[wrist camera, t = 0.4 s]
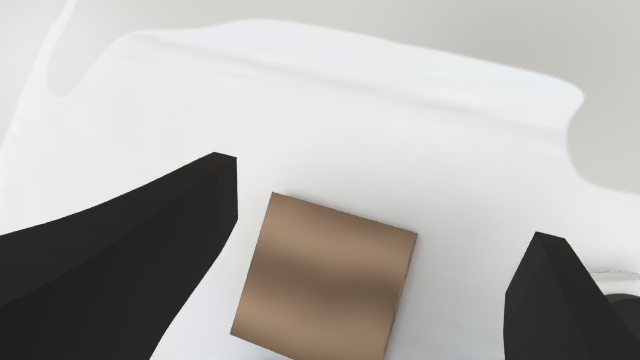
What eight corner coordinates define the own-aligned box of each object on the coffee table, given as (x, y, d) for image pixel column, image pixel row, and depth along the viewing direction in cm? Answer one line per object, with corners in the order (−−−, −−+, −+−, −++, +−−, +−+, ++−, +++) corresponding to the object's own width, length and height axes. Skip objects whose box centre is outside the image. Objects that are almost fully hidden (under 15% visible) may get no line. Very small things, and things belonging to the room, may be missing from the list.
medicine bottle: (534, 373, 34) (583, 439, 23) (520, 277, 35) (560, 292, 24) (642, 372, 33) (754, 442, 21) (624, 270, 34) (719, 284, 22)
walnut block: (378, 375, 37) (371, 390, 34) (249, 325, 41) (229, 334, 37) (417, 234, 38) (415, 232, 34) (287, 196, 42) (272, 191, 38)
